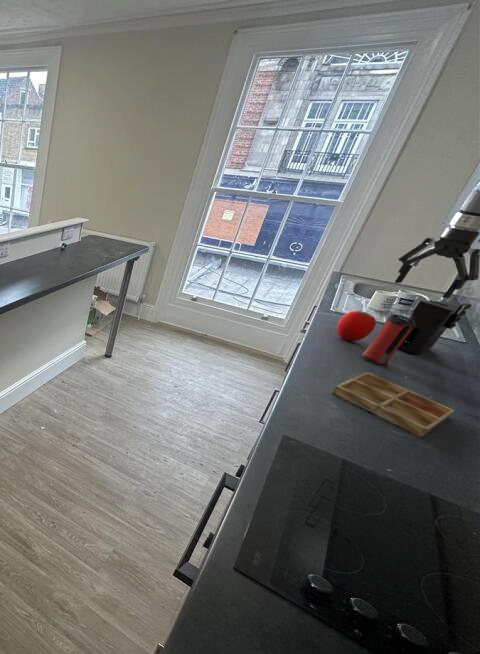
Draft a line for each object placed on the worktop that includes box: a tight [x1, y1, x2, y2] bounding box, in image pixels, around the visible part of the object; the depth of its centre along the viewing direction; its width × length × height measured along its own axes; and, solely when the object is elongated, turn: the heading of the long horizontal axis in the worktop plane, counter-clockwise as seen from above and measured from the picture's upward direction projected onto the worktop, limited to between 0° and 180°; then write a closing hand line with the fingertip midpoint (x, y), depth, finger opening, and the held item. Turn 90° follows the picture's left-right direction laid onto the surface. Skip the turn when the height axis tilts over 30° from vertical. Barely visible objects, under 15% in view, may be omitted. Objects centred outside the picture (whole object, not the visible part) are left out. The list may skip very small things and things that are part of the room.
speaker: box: [360, 314, 416, 366], centre depth 149 cm, size 8×8×18 cm
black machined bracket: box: [397, 299, 473, 356], centre depth 161 cm, size 12×21×22 cm, turn 119°
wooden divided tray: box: [331, 371, 456, 439], centre depth 126 cm, size 22×22×3 cm
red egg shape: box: [336, 310, 377, 342], centre depth 165 cm, size 11×11×13 cm
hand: (420, 289), depth 140 cm, fingers open, 13 cm apart
